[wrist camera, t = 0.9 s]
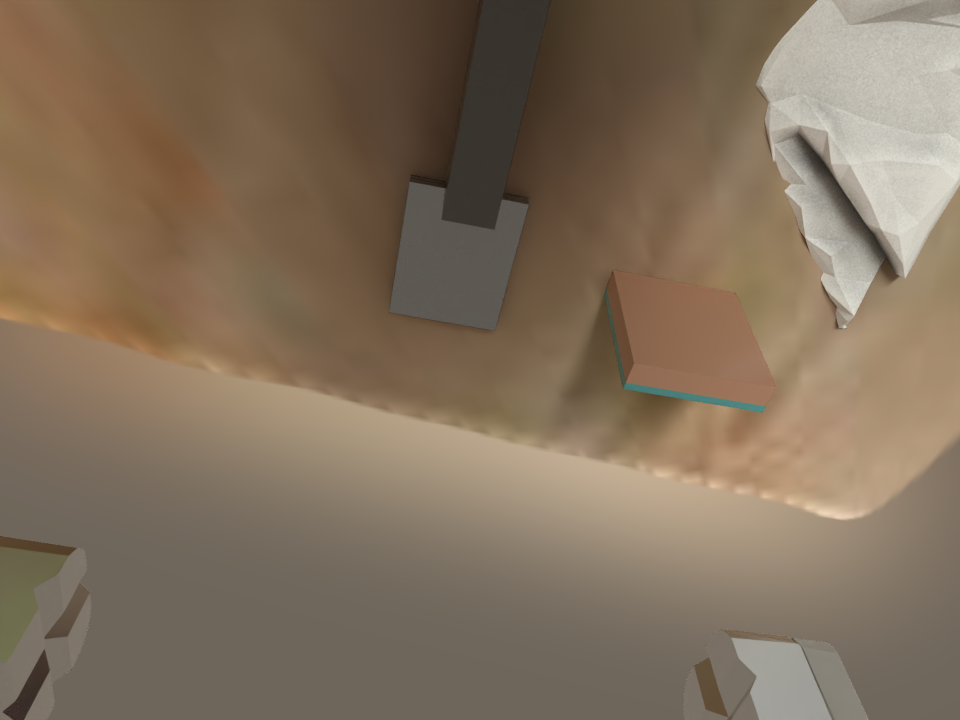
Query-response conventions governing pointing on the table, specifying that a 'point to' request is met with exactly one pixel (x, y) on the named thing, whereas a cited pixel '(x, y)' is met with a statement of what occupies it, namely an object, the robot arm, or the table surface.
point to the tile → (686, 343)
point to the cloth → (866, 132)
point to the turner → (473, 182)
